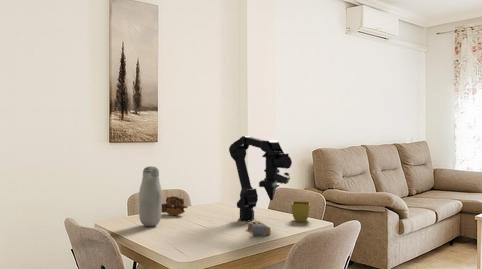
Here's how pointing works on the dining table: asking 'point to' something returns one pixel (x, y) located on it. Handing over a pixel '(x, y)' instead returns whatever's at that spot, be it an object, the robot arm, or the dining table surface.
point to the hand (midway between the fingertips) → (271, 200)
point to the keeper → (259, 230)
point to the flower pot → (300, 210)
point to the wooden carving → (174, 206)
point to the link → (258, 224)
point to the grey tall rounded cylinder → (150, 197)
